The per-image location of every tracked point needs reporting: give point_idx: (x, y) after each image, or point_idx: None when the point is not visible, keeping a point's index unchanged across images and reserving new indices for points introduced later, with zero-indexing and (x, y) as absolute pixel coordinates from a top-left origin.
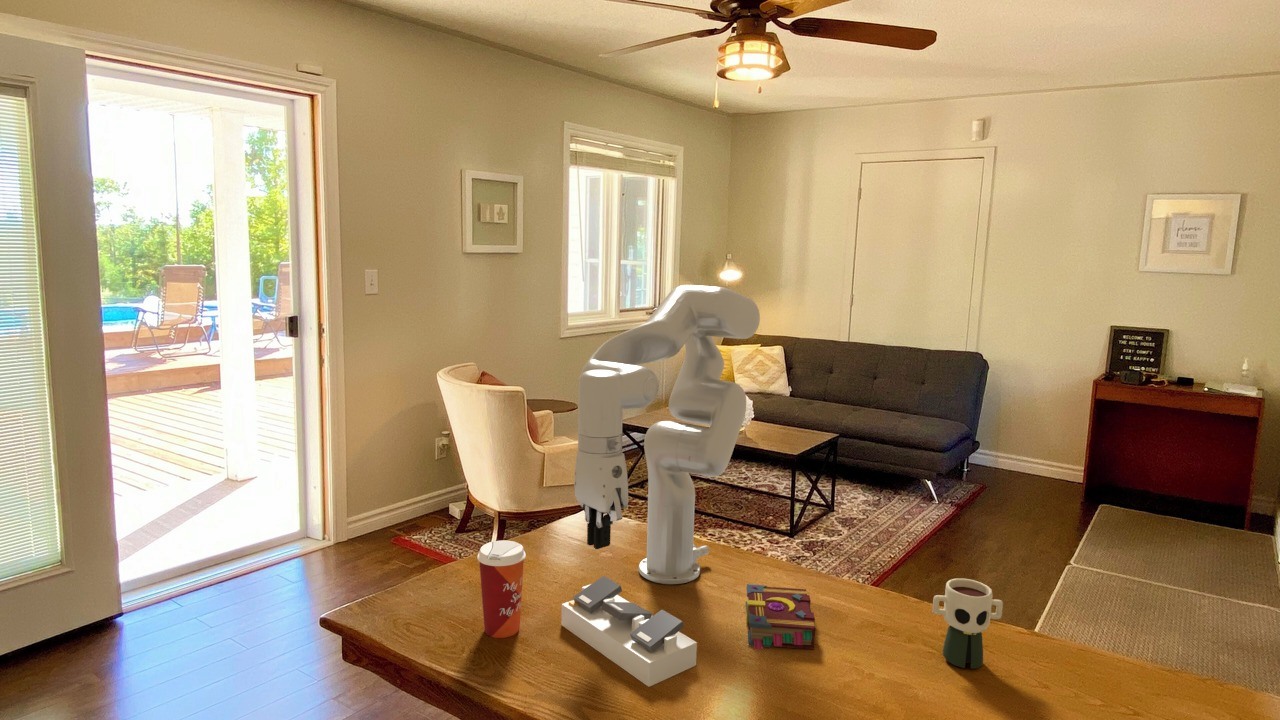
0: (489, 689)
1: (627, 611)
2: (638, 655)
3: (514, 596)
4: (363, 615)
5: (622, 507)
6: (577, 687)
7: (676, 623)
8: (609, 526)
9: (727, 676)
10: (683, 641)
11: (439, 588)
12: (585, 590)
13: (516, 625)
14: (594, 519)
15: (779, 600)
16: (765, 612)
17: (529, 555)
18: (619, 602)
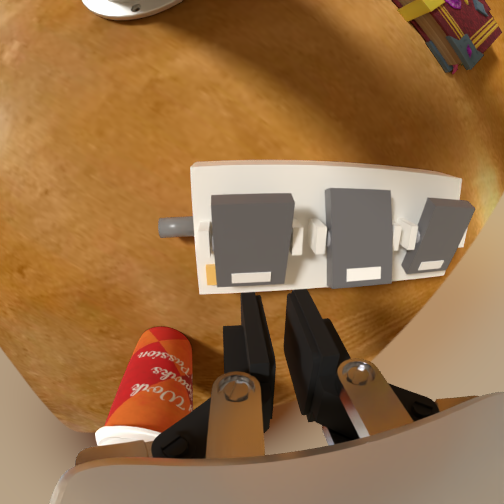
0: (291, 399)
1: (384, 258)
2: (425, 277)
3: (190, 395)
4: (74, 419)
5: (476, 398)
6: (361, 330)
7: (468, 217)
8: (332, 348)
9: (469, 161)
10: (450, 193)
11: (25, 347)
12: (222, 262)
13: (188, 348)
14: (267, 422)
15: None
16: (456, 20)
17: None
18: (334, 237)
